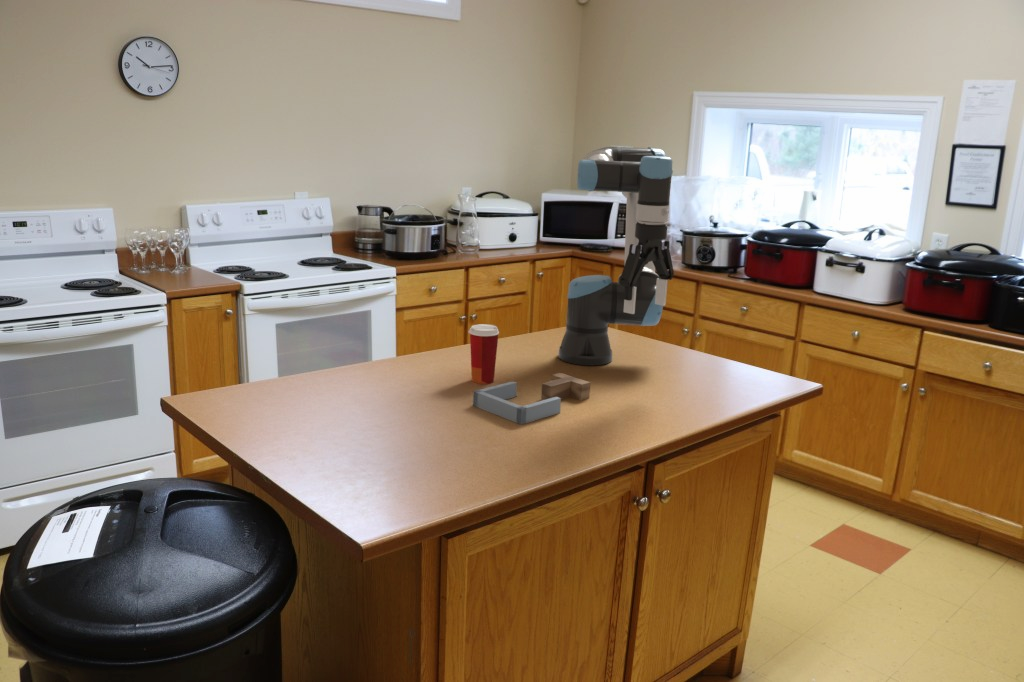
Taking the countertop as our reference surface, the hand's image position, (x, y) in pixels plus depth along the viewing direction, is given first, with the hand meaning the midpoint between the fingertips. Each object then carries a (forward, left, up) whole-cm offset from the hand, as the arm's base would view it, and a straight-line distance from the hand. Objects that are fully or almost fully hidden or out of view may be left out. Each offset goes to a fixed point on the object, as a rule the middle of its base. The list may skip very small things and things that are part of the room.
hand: (644, 308), depth 207 cm
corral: (-8, -35, -21) cm, 41 cm away
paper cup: (-29, -27, -21) cm, 45 cm away
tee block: (-8, -20, -21) cm, 30 cm away
